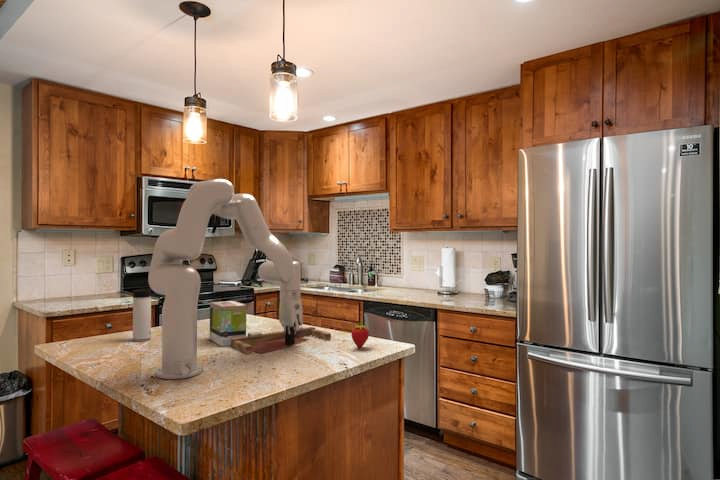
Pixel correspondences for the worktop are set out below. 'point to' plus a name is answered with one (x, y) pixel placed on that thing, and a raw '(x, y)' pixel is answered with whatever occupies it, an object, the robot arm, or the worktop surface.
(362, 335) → the strawberry
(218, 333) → the tea box
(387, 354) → the worktop surface
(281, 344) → the wooden tablet
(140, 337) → the travel mug
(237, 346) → the hinge frame
